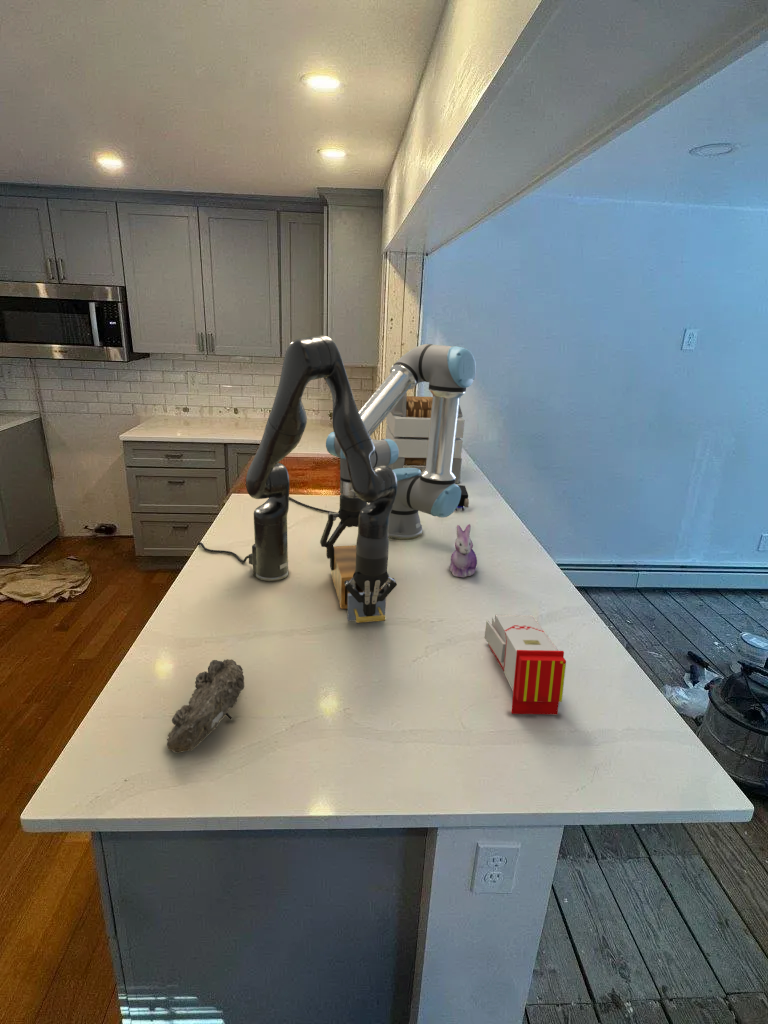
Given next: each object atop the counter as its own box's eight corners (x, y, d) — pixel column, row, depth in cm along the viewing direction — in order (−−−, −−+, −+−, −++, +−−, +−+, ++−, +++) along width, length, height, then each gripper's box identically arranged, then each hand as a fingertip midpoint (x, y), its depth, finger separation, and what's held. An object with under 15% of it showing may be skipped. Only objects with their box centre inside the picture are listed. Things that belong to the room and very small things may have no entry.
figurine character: (468, 516, 224) (463, 500, 237) (471, 498, 221) (465, 483, 234) (452, 515, 224) (447, 499, 237) (453, 498, 220) (449, 482, 234)
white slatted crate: (382, 463, 289) (386, 382, 275) (445, 464, 293) (451, 384, 279) (390, 482, 257) (394, 392, 243) (460, 483, 261) (468, 394, 247)
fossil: (192, 660, 117) (244, 628, 112) (224, 691, 120) (276, 661, 115) (142, 746, 98) (202, 712, 93) (182, 779, 101) (242, 748, 96)
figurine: (459, 581, 167) (464, 533, 161) (440, 567, 175) (444, 521, 170) (485, 575, 171) (490, 529, 166) (465, 562, 179) (470, 517, 174)
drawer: (389, 630, 138) (391, 604, 136) (351, 633, 136) (352, 606, 134) (370, 584, 161) (371, 561, 158) (337, 586, 159) (337, 562, 156)
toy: (530, 600, 137) (574, 657, 108) (525, 651, 140) (567, 720, 111) (480, 599, 137) (511, 656, 107) (477, 651, 139) (506, 719, 110)
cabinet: (380, 606, 151) (381, 575, 148) (340, 608, 149) (341, 577, 146) (366, 572, 170) (367, 544, 166) (331, 574, 167) (331, 546, 164)
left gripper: (346, 559, 127) (344, 625, 133) (403, 556, 130) (398, 621, 136) (341, 545, 134) (339, 609, 140) (396, 543, 137) (391, 606, 143)
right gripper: (312, 499, 150) (312, 575, 157) (397, 497, 155) (393, 570, 162) (309, 491, 157) (310, 563, 164) (391, 489, 162) (388, 559, 169)
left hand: (369, 615), depth 138 cm, fingers closed
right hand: (351, 567), depth 163 cm, fingers closed on cabinet, 11 cm apart
